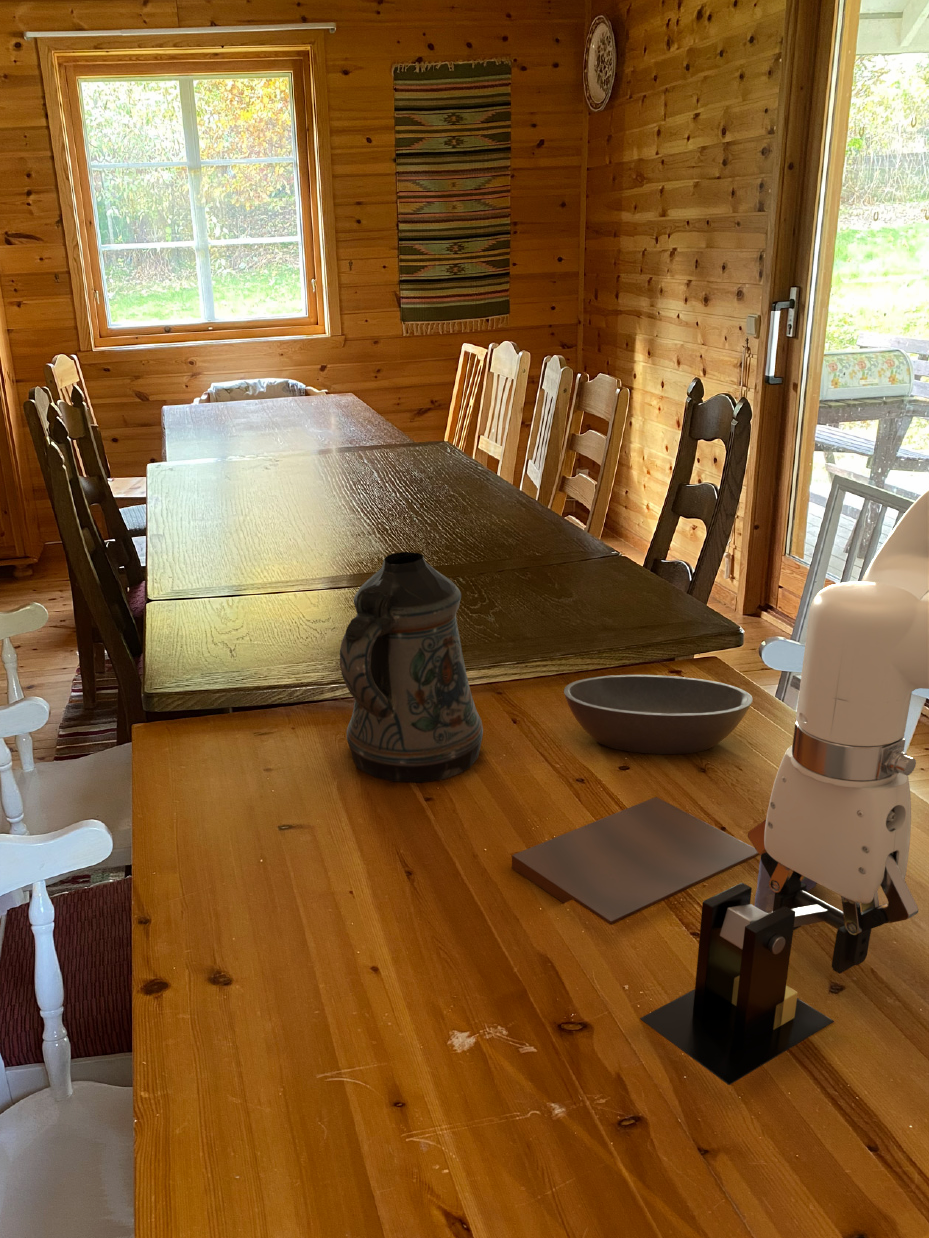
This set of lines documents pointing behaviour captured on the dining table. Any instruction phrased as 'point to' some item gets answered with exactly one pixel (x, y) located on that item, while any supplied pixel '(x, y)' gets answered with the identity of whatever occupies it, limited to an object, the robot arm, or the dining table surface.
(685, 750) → the bowl
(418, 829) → the dining table surface
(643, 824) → the cutting board
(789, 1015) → the butter
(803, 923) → the lever
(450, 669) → the beer stein
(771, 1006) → the dark brown stand
